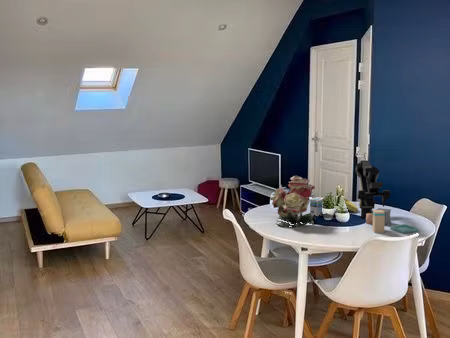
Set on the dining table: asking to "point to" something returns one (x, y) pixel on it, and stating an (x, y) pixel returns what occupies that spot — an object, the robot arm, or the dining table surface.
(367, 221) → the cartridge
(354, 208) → the plastic component
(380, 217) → the carton
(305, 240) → the dining table surface
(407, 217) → the dining table surface
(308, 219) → the rose bouquet
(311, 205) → the light bulb box
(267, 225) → the dining table surface
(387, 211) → the grey box
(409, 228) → the tray
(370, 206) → the robot arm
